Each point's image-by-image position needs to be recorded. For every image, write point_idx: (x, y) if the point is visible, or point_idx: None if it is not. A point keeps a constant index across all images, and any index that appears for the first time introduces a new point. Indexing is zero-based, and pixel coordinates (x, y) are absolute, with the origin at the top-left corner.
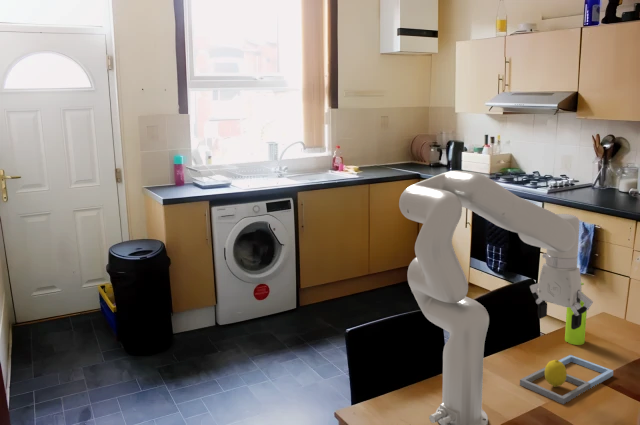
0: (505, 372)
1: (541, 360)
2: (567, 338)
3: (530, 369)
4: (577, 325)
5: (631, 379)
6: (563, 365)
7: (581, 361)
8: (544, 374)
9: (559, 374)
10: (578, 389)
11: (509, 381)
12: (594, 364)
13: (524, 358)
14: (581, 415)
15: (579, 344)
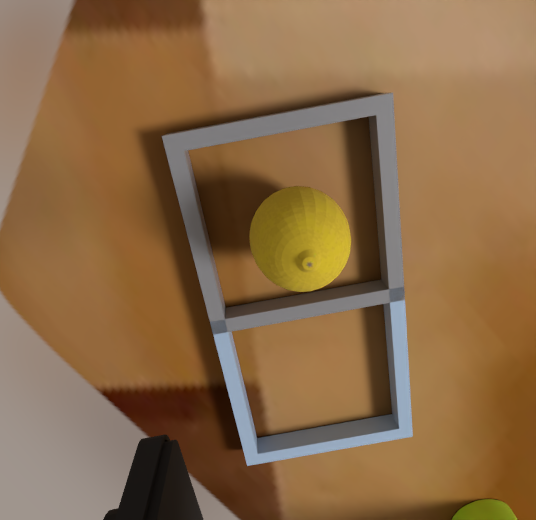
0: (498, 125)
1: (466, 336)
2: (499, 513)
3: (446, 244)
4: (110, 513)
5: (201, 475)
6: (274, 275)
7: (357, 432)
8: (380, 257)
9: (257, 222)
10: (197, 256)
11: (433, 74)
12: (312, 448)
13: (520, 293)
14: (67, 130)
15: (454, 516)
